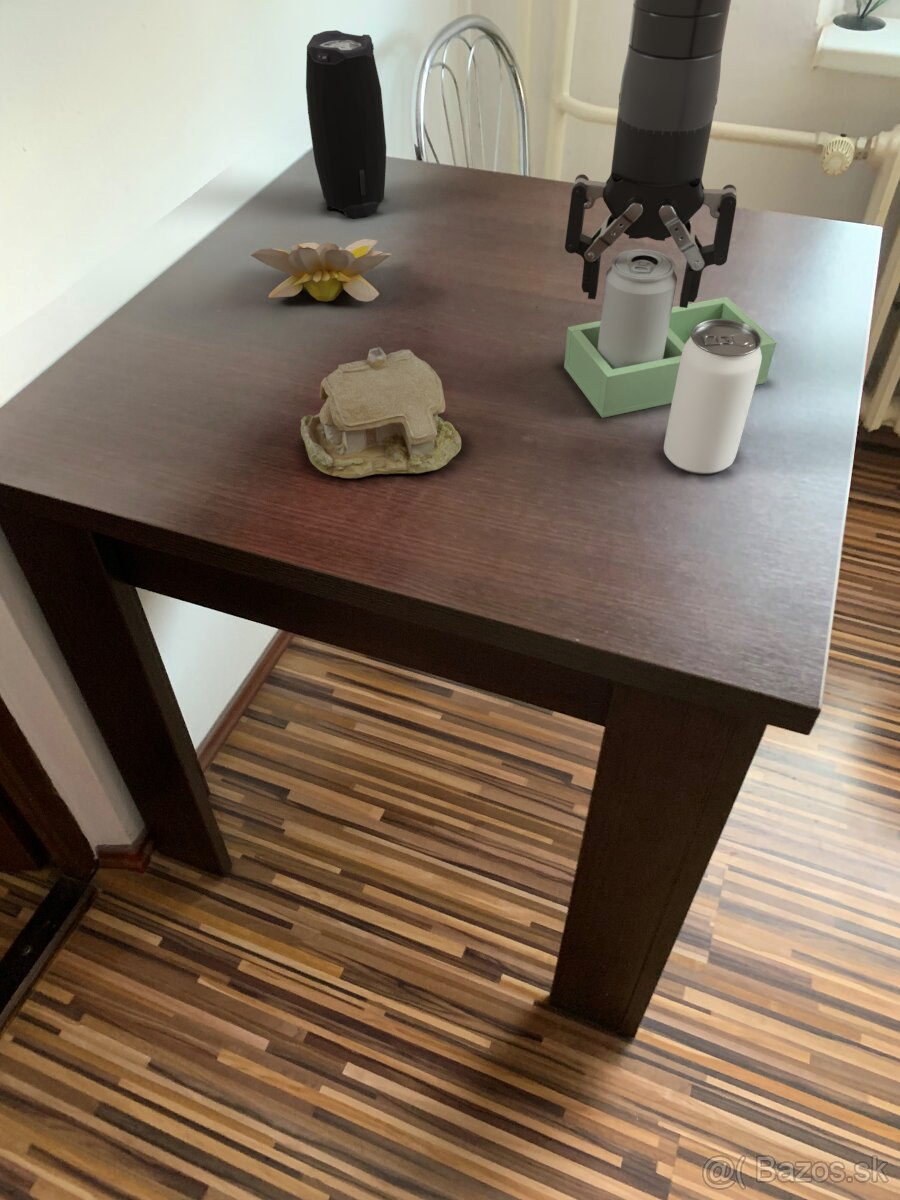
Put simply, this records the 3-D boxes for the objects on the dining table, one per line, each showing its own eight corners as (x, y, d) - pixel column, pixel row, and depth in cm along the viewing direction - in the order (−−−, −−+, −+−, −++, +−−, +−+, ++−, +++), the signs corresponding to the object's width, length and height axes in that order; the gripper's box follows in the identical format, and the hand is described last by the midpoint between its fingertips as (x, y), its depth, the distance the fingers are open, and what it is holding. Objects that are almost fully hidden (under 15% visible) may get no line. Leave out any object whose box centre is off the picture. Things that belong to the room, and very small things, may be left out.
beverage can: (664, 366, 89) (684, 251, 81) (652, 401, 85) (673, 284, 76) (601, 355, 91) (615, 241, 82) (587, 389, 87) (600, 273, 78)
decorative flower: (407, 251, 105) (392, 175, 96) (395, 320, 100) (379, 245, 91) (286, 256, 107) (261, 182, 99) (268, 323, 102) (240, 250, 93)
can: (741, 476, 79) (775, 357, 70) (668, 477, 79) (693, 358, 70) (727, 432, 83) (757, 315, 74) (657, 433, 83) (679, 316, 74)
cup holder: (765, 383, 88) (776, 342, 85) (602, 418, 85) (607, 376, 81) (717, 336, 94) (726, 296, 91) (563, 367, 91) (567, 326, 88)
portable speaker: (323, 193, 121) (303, 29, 107) (391, 192, 121) (380, 27, 107) (317, 221, 115) (295, 50, 101) (389, 219, 115) (377, 48, 101)
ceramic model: (433, 398, 88) (430, 304, 80) (474, 463, 80) (475, 368, 73) (295, 429, 84) (278, 335, 77) (325, 501, 77) (310, 404, 70)
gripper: (570, 121, 69) (556, 312, 81) (759, 132, 67) (715, 327, 79) (581, 89, 74) (566, 274, 86) (757, 98, 72) (716, 286, 84)
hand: (637, 299), depth 82 cm, fingers open, 8 cm apart
